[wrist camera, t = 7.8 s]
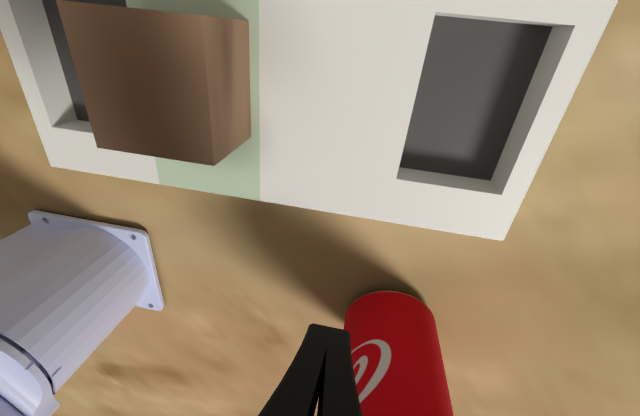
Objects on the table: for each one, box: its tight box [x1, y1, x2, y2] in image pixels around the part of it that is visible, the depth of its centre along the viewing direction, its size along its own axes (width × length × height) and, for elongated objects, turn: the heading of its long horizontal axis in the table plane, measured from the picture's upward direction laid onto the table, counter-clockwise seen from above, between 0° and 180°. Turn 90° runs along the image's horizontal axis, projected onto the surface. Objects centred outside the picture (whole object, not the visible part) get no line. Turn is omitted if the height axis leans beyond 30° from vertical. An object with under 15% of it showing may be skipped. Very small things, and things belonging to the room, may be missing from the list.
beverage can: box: [344, 291, 453, 416], centre depth 17 cm, size 6×6×12 cm
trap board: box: [0, 0, 618, 241], centre depth 15 cm, size 26×12×2 cm, turn 85°
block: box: [56, 0, 251, 166], centre depth 13 cm, size 5×5×4 cm
